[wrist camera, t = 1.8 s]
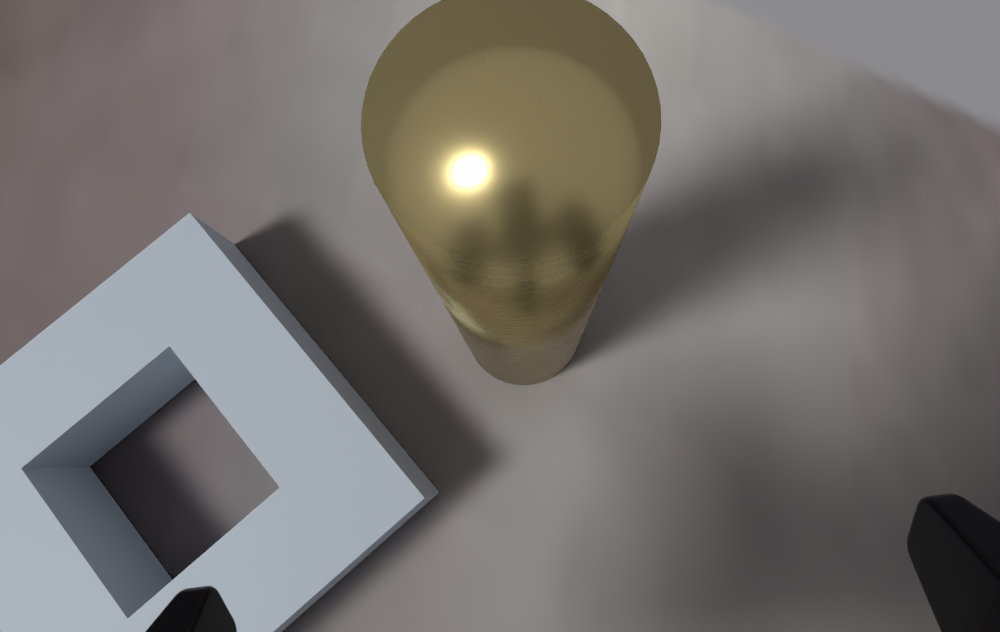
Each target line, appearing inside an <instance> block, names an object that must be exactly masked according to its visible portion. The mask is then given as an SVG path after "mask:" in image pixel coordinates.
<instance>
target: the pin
mask: <svg viewBox="0 0 1000 632" xmlns="http://www.w3.org/2000/svg"><path fill="white" fill-rule="evenodd" d="M660 131H661V108H660V101H659V96H658V90H657V86H656V83H655V80H654V77H653V74H652V71H651V69H650V67H649V65H648V63H647V61H646V59H645V57H644V55H643V53H642V52H641V50H640V49H639V47H638V46H637V44H636V43H635V41H634V40H633V39H632V38H631V36H630V35H629V34H628V33H627V32H626V31H625V30H624V29H623V27H622V26H621V25H620V24H618V23H617V22H616V21H615V20H614V19H613V18H611V17H610V16H609V15H608V14H607V13H605V12H604V11H602V10H601V9H599V8H598V7H596V6H595V5H593V4H592V3H590V2H588V1H586V0H441V1H439V2H438V3H436V4H434V5H432V6H430V7H429V8H427V9H426V10H424V11H423V12H422V13H420V14H419V15H417V16H416V17H414V18H413V19H412V20H411V21H410V22H409V23H408V24H407V25H406V26H405V27H403V28H402V29H401V30H400V31H399V33H398V34H397V35H396V36H395V37H394V38H393V40H392V41H391V42H390V43H389V44H388V46H387V47H386V49H385V51H384V52H383V54H382V55H381V57H380V58H379V60H378V62H377V64H376V66H375V68H374V70H373V72H372V74H371V77H370V80H369V83H368V86H367V89H366V92H365V97H364V102H363V108H362V122H361V132H362V142H363V149H364V153H365V158H366V162H367V165H368V168H369V170H370V173H371V175H372V178H373V181H374V183H375V185H376V186H377V188H378V190H379V192H380V193H381V195H382V197H383V199H384V200H385V202H386V204H387V205H388V207H389V209H390V211H391V212H392V214H393V216H394V218H395V219H396V221H397V223H398V225H399V226H400V228H401V230H402V232H403V233H404V235H405V237H406V239H407V240H408V242H409V244H410V246H411V247H412V249H413V251H414V253H415V254H416V256H417V258H418V259H419V261H420V263H421V265H422V266H423V268H424V270H425V272H426V273H427V275H428V277H429V279H430V280H431V282H432V284H433V286H434V287H435V289H436V291H437V293H438V294H439V296H440V298H441V300H442V301H443V303H444V305H445V307H446V308H447V310H448V312H449V314H450V315H451V317H452V319H453V320H454V322H455V324H456V326H457V327H458V329H459V331H460V333H461V334H462V336H463V338H464V340H465V341H466V343H467V345H468V347H469V348H470V350H471V352H472V354H473V355H474V357H475V359H476V360H477V362H478V363H479V364H480V366H481V367H482V368H483V369H484V370H485V371H487V372H488V373H489V374H490V375H492V376H493V377H495V378H497V379H499V380H501V381H504V382H507V383H510V384H516V385H531V384H536V383H540V382H543V381H546V380H548V379H550V378H552V377H553V376H555V375H557V374H558V373H559V372H560V371H562V370H563V369H564V368H565V367H566V366H567V364H568V363H569V362H570V360H571V359H572V357H573V355H574V353H575V351H576V349H577V346H578V344H579V342H580V339H581V337H582V334H583V332H584V330H585V327H586V325H587V323H588V320H589V318H590V315H591V313H592V311H593V308H594V306H595V303H596V301H597V299H598V296H599V294H600V291H601V289H602V287H603V284H604V282H605V280H606V277H607V275H608V272H609V270H610V268H611V265H612V263H613V260H614V258H615V256H616V253H617V251H618V248H619V246H620V244H621V241H622V239H623V237H624V234H625V232H626V229H627V227H628V225H629V222H630V220H631V217H632V215H633V213H634V210H635V208H636V205H637V203H638V201H639V198H640V196H641V194H642V191H643V189H644V186H645V184H646V182H647V179H648V177H649V174H650V172H651V169H652V167H653V164H654V162H655V158H656V154H657V150H658V146H659V141H660Z"/></svg>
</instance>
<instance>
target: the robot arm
mask: <svg viewBox="0 0 1000 632" xmlns="http://www.w3.org/2000/svg"><path fill="white" fill-rule="evenodd" d="M907 546H908V552H909V556H910V558H911V561H912V563H913V566H914V568H915V570H916V573H917V575H918V577H919V580H920V582H921V585H922V587H923V589H924V592H925V594H926V596H927V599H928V601H929V604H930V606H931V608H932V611H933V613H934V615H935V618H936V620H937V623H938V625H939V627H940V630H941V632H1000V522H999V521H998V520H996V519H995V518H993V517H992V516H990V515H989V514H987V513H986V512H984V511H983V510H981V509H980V508H978V507H977V506H975V505H974V504H972V503H970V502H969V501H967V500H966V499H964V498H963V497H961V496H958V495H955V494H943V495H935V496H927V497H923V498H922V499H921V500H920V501H919V502H918V505H917V508H916V511H915V514H914V518H913V521H912V524H911V528H910V531H909V534H908V539H907ZM145 632H237V629H236V624H235V621H234V619H233V617H232V615H231V614H230V612H229V610H228V608H227V606H226V604H225V603H224V601H223V599H222V597H221V595H220V594H219V592H218V590H217V589H216V588H214V587H212V586H203V587H195V588H187V589H184V590H182V591H180V592H179V593H178V594H176V596H175V597H174V598H173V599H172V600H171V601H170V603H169V604H168V605H167V606H166V607H165V609H164V610H163V611H162V612H161V613H160V615H159V616H158V617H157V618H156V619H155V621H154V622H153V623H152V624H151V625H150V627H149V628H148V629H147V630H146V631H145Z"/></svg>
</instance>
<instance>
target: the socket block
mask: <svg viewBox="0 0 1000 632" xmlns="http://www.w3.org/2000/svg"><path fill="white" fill-rule="evenodd" d="M195 379H196V381H197V382H198V383H199V385H200V386H201V387H202V388H203V390H204V391H205V392H206V394H207V395H208V396H209V397H210V399H211V400H212V401H213V402H214V404H215V405H216V406H217V408H218V409H219V410H220V411H221V413H222V414H223V415H224V417H225V418H226V419H227V420H228V422H229V423H230V424H231V425H232V427H233V428H234V429H235V431H236V432H237V433H238V434H239V436H240V437H241V438H242V440H243V441H244V442H245V443H246V445H247V446H248V447H249V449H250V450H251V451H252V452H253V454H254V455H255V456H256V457H257V459H258V460H259V461H260V463H261V464H262V465H263V466H264V468H265V469H266V470H267V472H268V473H269V474H270V475H271V477H272V478H273V479H274V480H275V482H276V483H277V484H278V486H279V487H280V488H279V489H278V490H276V491H275V492H274V493H273V494H272V495H271V496H269V497H268V498H267V499H266V500H265V501H264V502H262V503H261V504H260V505H259V506H258V507H257V508H255V509H254V510H253V511H252V512H251V513H250V514H249V515H247V516H246V517H245V518H244V519H243V520H242V521H240V522H239V523H238V524H237V525H236V526H235V527H233V528H232V529H231V530H230V531H229V532H228V533H226V534H225V535H224V536H223V537H222V538H221V539H220V540H218V541H217V542H216V543H215V544H214V545H213V546H211V547H210V548H209V549H208V550H207V551H206V552H204V553H203V554H202V555H201V556H200V557H199V558H197V559H196V560H195V561H194V562H193V563H192V564H190V565H189V566H188V567H187V568H186V569H185V570H184V571H182V572H181V573H180V574H179V575H178V576H177V577H175V578H174V579H173V580H172V579H171V577H170V576H169V574H168V573H167V572H166V570H165V569H164V568H163V566H162V565H161V563H160V562H159V561H158V559H157V558H156V557H155V555H154V554H153V552H152V551H151V550H150V548H149V547H148V546H147V544H146V543H145V542H144V540H143V539H142V537H141V536H140V535H139V533H138V532H137V531H136V529H135V528H134V526H133V525H132V524H131V522H130V521H129V520H128V518H127V517H126V516H125V514H124V513H123V511H122V510H121V509H120V507H119V506H118V505H117V503H116V502H115V500H114V499H113V498H112V496H111V495H110V494H109V492H108V491H107V489H106V488H105V487H104V485H103V484H102V483H101V481H100V480H99V479H98V477H97V476H96V474H95V473H94V472H93V470H92V469H91V468H90V466H91V465H93V464H94V463H95V462H96V461H97V460H99V459H100V458H101V457H102V456H103V455H105V454H106V453H107V452H108V451H109V450H111V449H112V448H113V447H114V446H115V445H117V444H118V443H119V442H120V441H121V440H123V439H124V438H125V437H126V436H127V435H129V434H130V433H131V432H132V431H133V430H135V429H136V428H137V427H138V426H139V425H141V424H142V423H143V422H144V421H145V420H147V419H148V418H149V417H150V416H151V415H153V414H154V413H155V412H156V411H157V410H159V409H160V408H161V407H162V406H163V405H165V404H166V403H167V402H168V401H169V400H171V399H172V398H173V397H174V396H175V395H177V394H178V393H179V392H180V391H181V390H183V389H184V388H185V387H186V386H187V385H189V384H190V383H191V382H192V381H193V380H195ZM438 493H439V491H438V490H437V489H436V488H435V486H434V485H433V484H432V483H431V481H430V480H429V479H428V478H427V477H426V475H425V474H424V473H423V472H422V471H421V469H420V468H419V467H418V466H417V465H416V463H415V462H414V461H413V460H412V459H411V457H410V456H409V455H408V454H407V453H406V451H405V450H404V449H403V448H402V446H401V445H400V444H399V443H398V442H397V440H396V439H395V438H394V437H393V436H392V434H391V433H390V432H389V431H388V430H387V428H386V427H385V426H384V425H383V424H382V422H381V421H380V420H379V419H378V418H377V416H376V415H375V414H374V413H373V411H372V410H371V409H370V408H369V407H368V405H367V404H366V403H365V402H364V401H363V399H362V398H361V397H360V396H359V395H358V393H357V392H356V391H355V390H354V389H353V387H352V386H351V385H350V384H349V382H348V381H347V380H346V379H345V378H344V376H343V375H342V374H341V373H340V372H339V370H338V369H337V368H336V367H335V366H334V364H333V363H332V362H331V361H330V360H329V358H328V357H327V356H326V355H325V354H324V352H323V351H322V350H321V349H320V347H319V346H318V345H317V344H316V343H315V341H314V340H313V339H312V338H311V337H310V335H309V334H308V333H307V332H306V331H305V329H304V328H303V327H302V326H301V325H300V323H299V322H298V321H297V320H296V318H295V317H294V316H293V315H292V314H291V312H290V311H289V310H288V309H287V308H286V306H285V305H284V304H283V303H282V302H281V300H280V299H279V298H278V297H277V296H276V294H275V293H274V292H273V291H272V290H271V288H270V287H269V286H268V285H267V283H266V282H265V281H264V280H263V279H262V277H261V276H260V275H259V274H258V273H257V271H256V270H255V269H254V268H253V267H252V265H251V264H250V263H249V262H248V261H247V259H246V258H245V257H244V256H243V255H242V253H241V252H240V251H239V250H238V248H237V247H236V246H235V245H234V244H233V243H232V242H230V241H229V240H228V239H226V238H225V237H223V236H222V235H221V234H219V233H218V232H216V231H215V230H214V229H212V228H211V227H209V226H208V225H206V224H205V223H204V222H202V221H201V220H199V219H198V218H197V217H195V216H194V215H192V214H191V213H189V214H187V215H186V216H185V217H184V218H183V219H181V220H180V221H179V222H178V223H176V224H175V225H174V226H173V227H171V228H170V229H169V230H168V231H166V232H165V233H164V234H163V235H161V236H160V237H159V238H158V239H156V240H155V241H154V242H153V243H152V244H150V245H149V246H148V247H147V248H145V249H144V250H143V251H142V252H140V253H139V254H138V255H137V256H135V257H134V258H133V259H132V260H130V261H129V262H128V263H127V264H125V265H124V266H123V267H122V268H120V269H119V270H118V271H117V272H116V273H114V274H113V275H112V276H111V277H109V278H108V279H107V280H106V281H104V282H103V283H102V284H101V285H99V286H98V287H97V288H96V289H94V290H93V291H92V292H91V293H89V294H88V295H87V296H86V297H85V298H83V299H82V300H81V301H80V302H78V303H77V304H76V305H75V306H73V307H72V308H71V309H70V310H68V311H67V312H66V313H65V314H63V315H62V316H61V317H60V318H58V319H57V320H56V321H55V322H54V323H52V324H51V325H50V326H49V327H47V328H46V329H45V330H44V331H42V332H41V333H40V334H39V335H37V336H36V337H35V338H34V339H32V340H31V341H30V342H29V343H27V344H26V345H25V346H24V347H23V348H21V349H20V350H19V351H18V352H16V353H15V354H14V355H13V356H11V357H10V358H9V359H8V360H6V361H5V362H4V363H3V364H1V365H0V631H1V632H145V631H146V630H147V629H148V628H149V627H150V625H151V624H152V623H153V622H154V621H155V619H156V618H157V617H158V616H159V615H160V613H161V612H162V611H163V610H164V609H165V607H166V606H167V605H168V604H169V603H170V601H171V600H172V599H173V598H174V597H175V596H176V594H178V593H179V592H180V591H182V590H184V589H187V588H195V587H203V586H212V587H214V588H216V589H217V590H218V592H219V594H220V595H221V597H222V599H223V601H224V603H225V604H226V606H227V608H228V610H229V612H230V614H231V615H232V617H233V619H234V621H235V624H236V629H237V632H282V631H283V630H284V629H286V628H287V627H288V626H289V625H290V624H291V623H292V622H293V621H295V620H296V619H297V618H298V617H299V616H300V615H301V614H302V613H304V612H305V611H306V610H307V609H308V608H309V607H310V606H311V605H313V604H314V603H315V602H316V601H317V600H318V599H319V598H321V597H322V596H323V595H324V594H325V593H326V592H327V591H328V590H330V589H331V588H332V587H333V586H334V585H335V584H336V583H337V582H339V581H340V580H341V579H342V578H343V577H344V576H345V575H347V574H348V573H349V572H350V571H351V570H352V569H353V568H354V567H356V566H357V565H358V564H359V563H360V562H361V561H362V560H363V559H365V558H366V557H367V556H368V555H369V554H370V553H371V552H372V551H374V550H375V549H376V548H377V547H378V546H379V545H380V544H382V543H383V542H384V541H385V540H386V539H387V538H388V537H389V536H391V535H392V534H393V533H394V532H395V531H396V530H397V529H398V528H400V527H401V526H402V525H403V524H404V523H405V522H406V521H408V520H409V519H410V518H411V517H412V516H413V515H414V514H415V513H417V512H418V511H419V510H420V509H421V508H422V507H423V506H424V505H426V504H427V503H428V502H429V501H430V500H431V499H432V498H433V497H435V496H436V495H437V494H438Z"/></svg>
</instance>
